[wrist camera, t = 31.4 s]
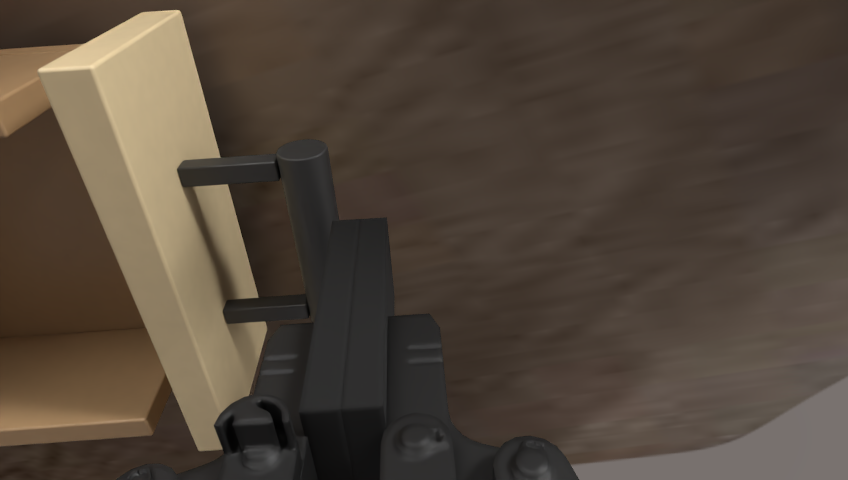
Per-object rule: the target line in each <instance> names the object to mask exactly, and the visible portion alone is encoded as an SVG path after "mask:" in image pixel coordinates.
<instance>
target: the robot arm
mask: <svg viewBox="0 0 848 480" xmlns="http://www.w3.org/2000/svg"><path fill="white" fill-rule="evenodd" d="M214 428H215V430H216V433H217V436H218V438H219V441H220V444H221V446H222V449H223V451H224V455H222V456H221V457H219V458H218V459H216V460H214V461H212V462H210V463H207V464H205V465H202V466H199V467H197V468H194V469H191V470H188V471H185V472H182V473H180V474H177V475H176V474H175V472H174V471H173V469H172V468H170V467H168V466H165V465H163V464H146V465H143V466H140V467H137V468H134V469H131V470H130V471H128V472H127V473H125V474H123V475H122V476H120V477H119V478H117V479H116V480H579V479H578V477H577V476H576V474H575V472H574V470H573V468H572V467H571V465H570V463H569V462H568V460H567V458H566V457H565V456H564V454H563V453H562V452H561V451H560V450H559V449H558V447H557V446H555V445H553V444H552V443H550V442H548V441H547V440H545V439H542V438H537V437H533V436H523V437H515V438H513V439H511V440H509V441H507V442H505V443H504V444H503V445H502V446H501V447H500V448H499V447H494V446H490V445H486V444H481V443H478V442H475V441H473V440H470V439H469V438H467V437H465V436H464V435H462V434H461V433H460V432H459V431H458V430H457V429H456V428H455V427H454V425H453V423H452V422H451V420H450V416H449V412H448V403H447V394H446V384H445V374H444V364H443V355H442V345H441V335H440V327H439V326H438V325H437V323H436V322H435V321H434V319H433V318H432V316H431V315H430V314H417V315H402V316H394V286H393V276H392V266H391V256H390V246H389V236H388V225H387V217H386V218H370V219H355V220H340V221H332V225H331V231H330V236H329V242H328V248H327V253H326V259H325V265H324V270H323V276H322V282H321V288H320V293H319V299H318V305H317V310H316V316H315V322H314V323H304V324H289V325H280V327H279V328H278V329H277V330H276V332H275V333H274V334H273V335H272V336H271V338H270V339H269V340H268V343H267V346H266V350H265V354H264V357H263V362H262V365H261V369H260V376H258V380H257V384H256V387H255V391H254V395H251V396H246V397H243V398H241V399H239V400H237V401H235V402H233V403H232V404H230V405H229V406H228V407H227V408H226V409H225V410H224V411H223V412H221V413H220V415H219V417H218V418H217V420H216V422H215V424H214Z"/></svg>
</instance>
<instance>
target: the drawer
mask: <svg viewBox="0 0 848 480" xmlns="http://www.w3.org/2000/svg"><path fill="white" fill-rule="evenodd" d="M280 177H281V180H282V185H283V189H284V194H285V199H286V203H287V208H288V213H289V217H290V222H291V227H292V231H293V236H294V241H295V246H296V250H297V255H298V260H299V264H300V269H301V274H302V278H303V283H304V288H305V292H306V294H302V295H288V296H274V297H258V293H257V290H256V286H255V282H254V279H253V275H252V271H251V268H250V264H249V260H248V257H247V253H246V249H245V246H244V242H243V238H242V235H241V231H240V227H239V224H238V220H237V216H236V213H235V209H234V205H233V202H232V198H231V194H230V190H229V187H228V184H240V183H255V182H269V181H279V180H280ZM332 221H339V216H338V210H337V204H336V197H335V191H334V185H333V178H332V172H331V166H330V159H329V153H328V147H327V145H326V144H325V143H324V142H322V141H319V140H310V139H308V140H298V141H293V142H290V143H287V144H285V145H283V146H281V147H280V148H279V149H278V150H277V153H276V154H266V155H251V156H236V157H222V158H221V157H220V154H219V150H218V146H217V143H216V139H215V135H214V132H213V128H212V124H211V121H210V117H209V113H208V110H207V106H206V102H205V99H204V95H203V91H202V88H201V84H200V80H199V77H198V73H197V69H196V66H195V62H194V58H193V55H192V51H191V47H190V44H189V40H188V36H187V33H186V29H185V25H184V22H183V18H182V14H181V12H180V11H179V10H169V11H154V12H142V13H140V14H138V15H136V16H134V17H133V18H131V19H129V20H127V21H125V22H123V23H122V24H120V25H118V26H116V27H114V28H113V29H111V30H109V31H107V32H105V33H103V34H102V35H100V36H98V37H96V38H94V39H92V40H91V41H89V42H87V43H85V44H73V45H58V46H43V47H28V48H13V49H0V447H1V446H15V445H29V444H43V443H56V442H70V441H84V440H98V439H111V438H125V437H139V436H151V435H153V433H154V431H155V428H156V426H157V424H158V421H159V419H160V417H161V414H162V412H163V410H164V407H165V405H166V403H167V400H168V398H169V396H170V393H171V391H172V390H173V392H174V395H175V397H176V399H177V402H178V404H179V406H180V409H181V411H182V413H183V416H184V418H185V420H186V423H187V425H188V427H189V430H190V432H191V434H192V437H193V439H194V441H195V444H196V446H197V448H198V450H199V451H212V450H223V449H222V446H221V444H220V441H219V438H218V436H217V433H216V430H215V428H214V424H215V422H216V420H217V418H218V417H219V415H220V413H221V412H223V411H224V410H225V409H226V408H227V407H228V406H229V405H230V404H232V403H233V402H235V401H237V400H239V399H241V398H243V397H246V396H249V393H250V390H251V386H252V382H253V379H254V375H255V372H256V368H257V364H258V361H259V357H260V354H261V350H262V346H263V343H264V339H265V335H266V332H267V326H266V323H265V321H278V320H292V319H306V318H309V316H311V320H312V323H314V322H315V316H316V310H317V305H318V299H319V293H320V288H321V282H322V276H323V270H324V265H325V259H326V253H327V248H328V242H329V236H330V231H331V225H332Z"/></svg>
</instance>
